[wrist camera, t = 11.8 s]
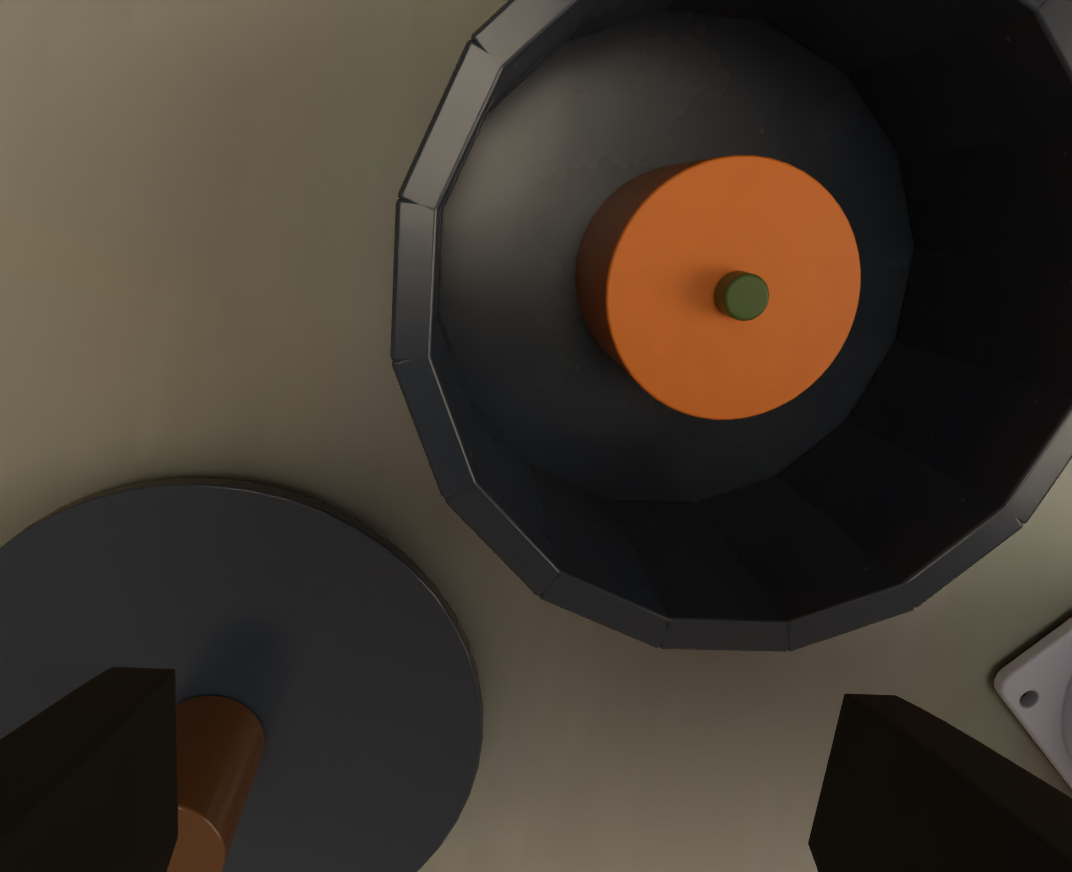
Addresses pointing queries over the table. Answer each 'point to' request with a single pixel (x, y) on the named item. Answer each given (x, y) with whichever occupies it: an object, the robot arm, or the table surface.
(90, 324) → the table surface
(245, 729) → the pot lid
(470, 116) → the pot
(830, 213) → the squash
